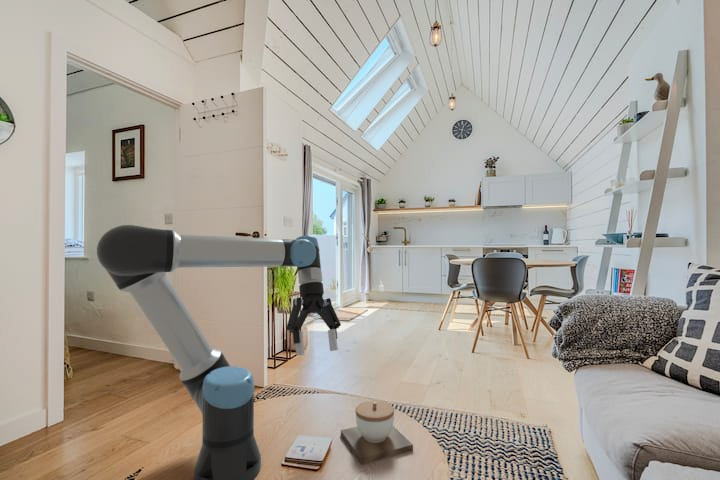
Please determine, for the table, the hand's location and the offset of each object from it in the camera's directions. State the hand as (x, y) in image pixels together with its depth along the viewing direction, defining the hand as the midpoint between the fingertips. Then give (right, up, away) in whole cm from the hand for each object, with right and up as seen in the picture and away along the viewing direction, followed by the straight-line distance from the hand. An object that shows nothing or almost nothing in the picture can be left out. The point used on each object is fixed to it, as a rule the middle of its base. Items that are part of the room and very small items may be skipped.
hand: (318, 352), depth 104 cm
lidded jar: (+17, -21, -8) cm, 28 cm away
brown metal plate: (+17, -22, -8) cm, 29 cm away
